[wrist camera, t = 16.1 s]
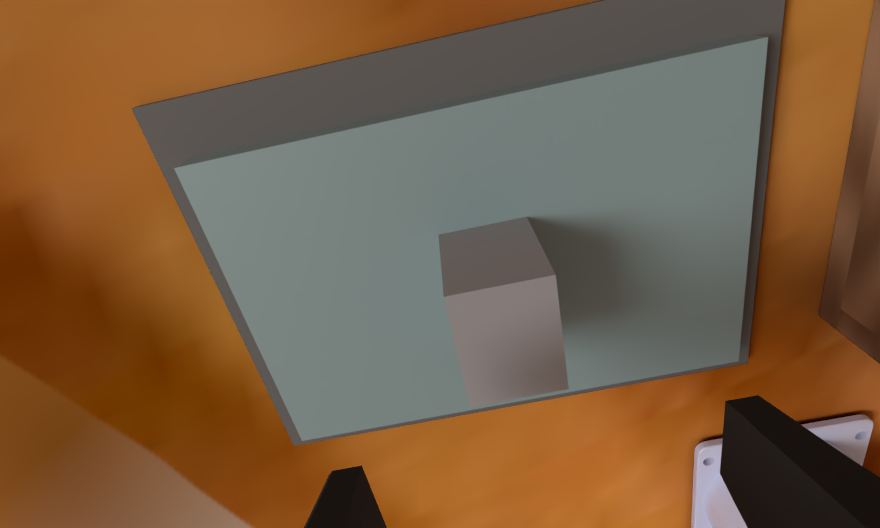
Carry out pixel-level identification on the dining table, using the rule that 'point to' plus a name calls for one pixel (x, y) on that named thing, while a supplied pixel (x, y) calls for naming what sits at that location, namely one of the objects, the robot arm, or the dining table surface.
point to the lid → (496, 240)
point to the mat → (449, 78)
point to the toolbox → (859, 218)
